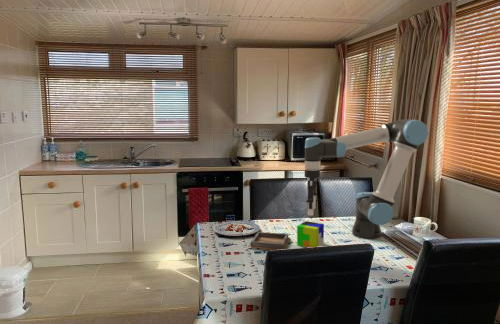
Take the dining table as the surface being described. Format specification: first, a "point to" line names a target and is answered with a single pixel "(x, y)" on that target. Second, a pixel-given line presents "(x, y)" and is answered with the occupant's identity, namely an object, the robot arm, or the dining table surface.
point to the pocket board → (270, 241)
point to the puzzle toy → (310, 234)
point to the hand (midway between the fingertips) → (311, 211)
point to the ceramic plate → (239, 229)
